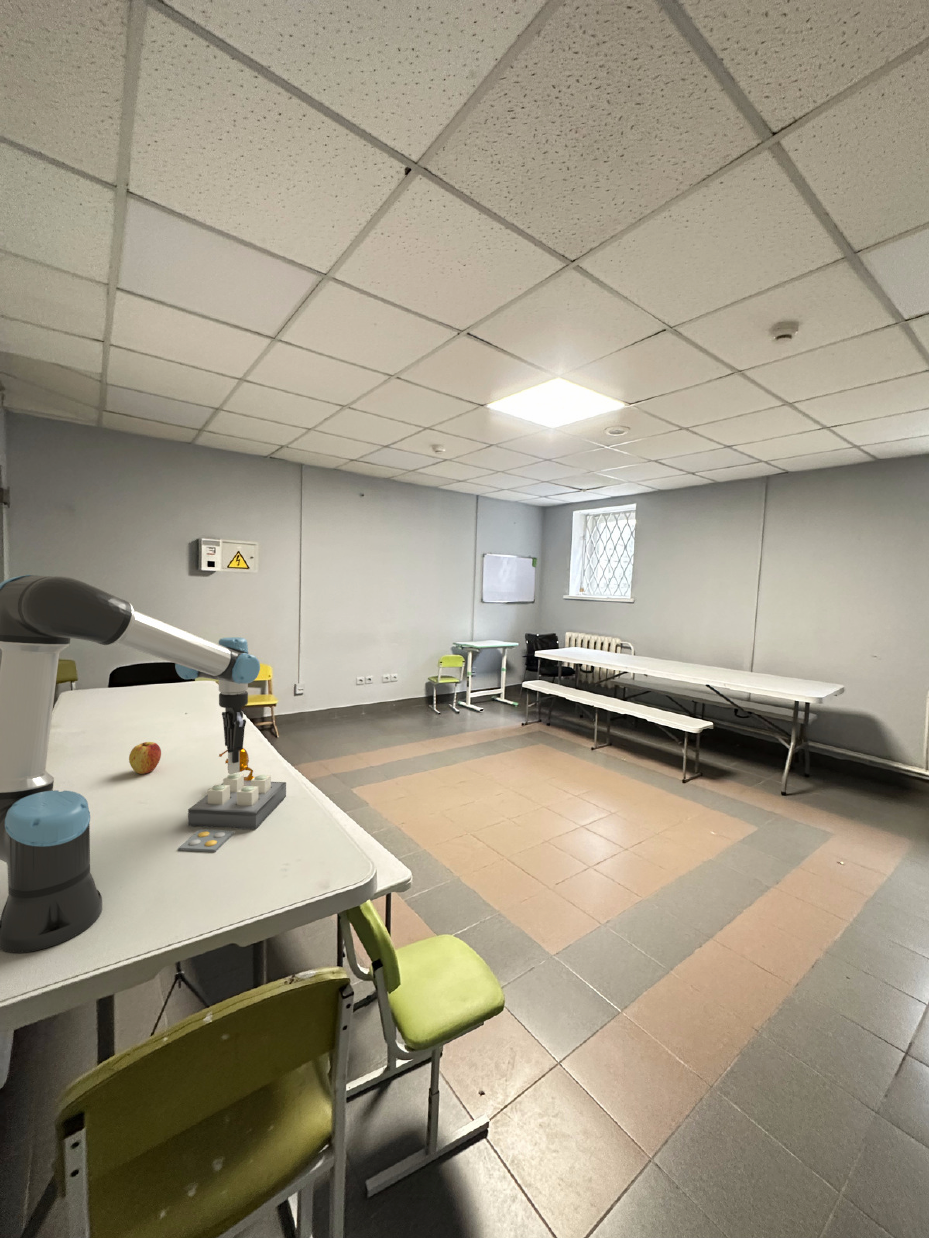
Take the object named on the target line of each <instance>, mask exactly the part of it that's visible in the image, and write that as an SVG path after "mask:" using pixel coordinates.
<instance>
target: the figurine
mask: <svg viewBox="0 0 929 1238" xmlns="http://www.w3.org/2000/svg"><path fill="white" fill-rule="evenodd" d="M227 750H228V749H226V750H224V751H222V752H221V753H219V755H218V757H221V758H222V757H223V755H224V754H226V753H228V751H227ZM249 759H250V758H249V753H248V751H247V750H246V749H245V748H244V747H243V750H240V772H239V773H242V772H244V771H248V772H249V773H248V775H247V776H244V780H245V781H251V780H252V779H253V778H254V777H255V776H254V775H253V773H254V769H252V768H251V767H249V761H250V760H249ZM224 764H228V758H226V760H225V763H224Z"/></svg>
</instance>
